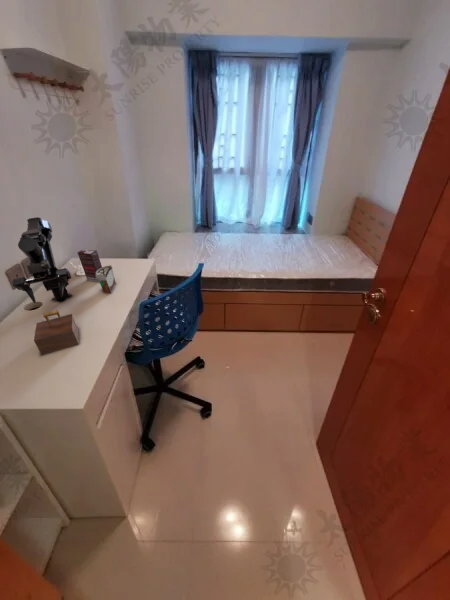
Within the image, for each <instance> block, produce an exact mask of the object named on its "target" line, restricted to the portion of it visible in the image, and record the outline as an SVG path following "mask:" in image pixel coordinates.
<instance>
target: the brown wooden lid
mask: <svg viewBox="0 0 450 600" xmlns="http://www.w3.org/2000/svg"><path fill="white" fill-rule="evenodd" d="M42 316H43V318H44V319H45V320H43V321H39V322H36V324H35V331H34V337H33V342H34V343H35V342H36V341H39V340H43V339H46V338H50V337H54V336H57V335H61V334H64V333H68V332H71V331H73V318H74V316H73V313H70V314H66V315H62V316H61V315H60V310H59V309H56V310H52V311H47V312H44V313H42ZM52 316H57V317H54V318H51V319H50V318H49V317H52Z"/></svg>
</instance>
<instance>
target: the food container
mask: <svg viewBox="0 0 450 600" xmlns="http://www.w3.org/2000/svg"><path fill="white" fill-rule="evenodd" d="M96 278H97V279H98V280H99V282H98V283H99V285H100V288H101V289H102V291H103V293H105V294H112V293H113V291H114V289H115V287H116V285H117V283H116V279H115V274H114V271H113V266H112V265H111V264H109V265H104V266H102V268H100V269H98V270H97V271H96Z"/></svg>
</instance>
